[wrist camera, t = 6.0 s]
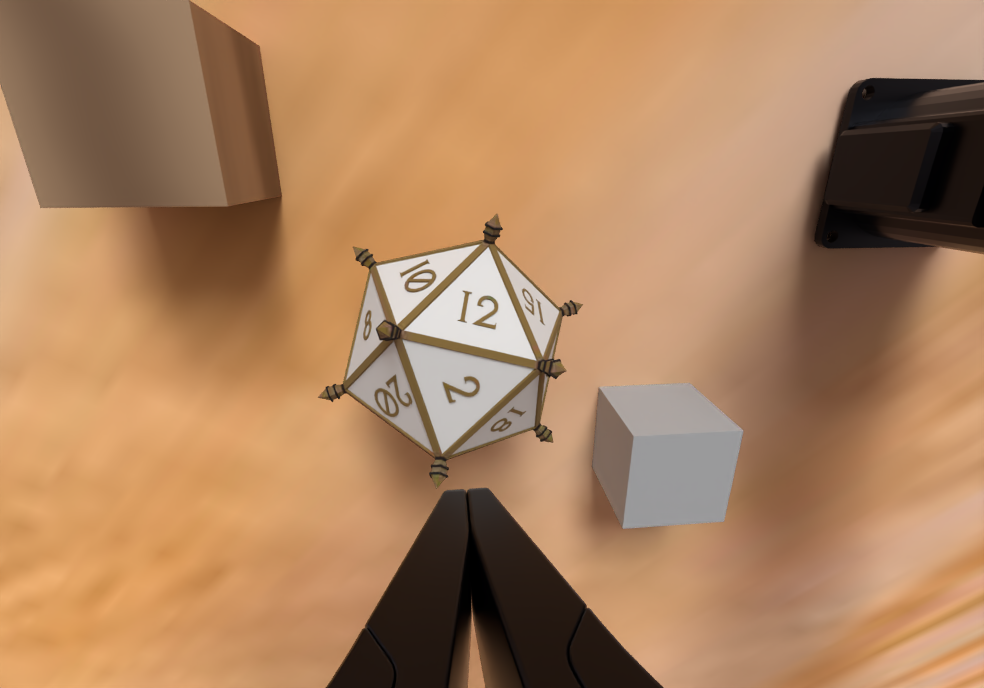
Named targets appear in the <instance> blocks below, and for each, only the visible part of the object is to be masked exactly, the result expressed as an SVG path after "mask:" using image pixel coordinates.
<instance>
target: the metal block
mask: <svg viewBox="0 0 984 688" xmlns="http://www.w3.org/2000/svg"><path fill="white" fill-rule="evenodd" d="M0 84H1V87H2V91H3V94H4V97H5V100H6V103H7V106H8V109H9V112H10V115H11V118H12V121H13V125H14V128H15V131H16V134H17V137H18V140H19V143H20V146H21V149H22V152H23V155H24V158H25V162H26V165H27V168H28V171H29V174H30V177H31V180H32V183H33V186H34V189H35V192H36V195H37V199H38V202H39V205H40V208H94V207H215V206H233V205H238V204H243V203H249V202H254V201H259V200H264V199H270V198H275V197H280V196H282V193H281V187H280V180H279V174H278V167H277V160H276V154H275V147H274V140H273V134H272V127H271V120H270V114H269V107H268V100H267V94H266V87H265V80H264V74H263V67H262V60H261V54H260V47H259V45H257V44H256V43H254V42H252V41H251V40H249V39H248V38H246V37H245V36H243V35H242V34H240V33H239V32H237V31H236V30H234V29H233V28H231V27H229V26H228V25H226V24H225V23H223V22H222V21H220V20H219V19H217V18H216V17H214V16H213V15H211V14H210V13H208V12H206V11H205V10H203V9H202V8H200V7H199V6H197V5H196V4H194V3H193V2H191V1H190V0H0Z"/></svg>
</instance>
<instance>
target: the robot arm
mask: <svg viewBox="0 0 984 688" xmlns="http://www.w3.org/2000/svg"><path fill="white" fill-rule="evenodd" d="M864 88H865V89H866V95H865V98H864V99H863V97H862V92H863V90H864ZM830 232H831V236H830V238H829V239H828V240H827V236H828V234H829V233H830ZM815 242H816V244H817V245H818V246H821V247H825V248H882V247H943V248H949V249H955V250H961V251H967V252H973V253H980V254H984V80H948V79H892V78H870V79H865V80H861V81H858V82H856V83H855V84H854V85H853V86H852V87H851V88H850V91H849V93H848V97H847V101H846V106H845V110H844V114H843V118H842V123H841V127H840V131H839V135H838V140H837V144H836V148H835V152H834V156H833V161H832V165H831V169H830V173H829V178H828V182H827V186H826V190H825V195H824V199H823V203H822V207H821V212H820V216H819V220H818V224H817V228H816V233H815ZM471 600H472V608H471ZM472 612H473V619H474V626H475V632H476V638H477V643H478V649H479V654H480V660H481V666H482V671H483V677H484V682H485V688H664V687H662V686H661V685H660V684H659V683H658V682H657V681H656V680H655V679H654V678H653V677H652V676H651V675H650V674H649V673H648V672H647V671H646V670H645V669H644V668H643V667H642V666H641V665H640V664H639V663H638V662H637V661H636V660H635V659H634V658H633V657H632V656H631V655H630V654H629V653H628V652H627V651H626V650H625V649H624V647H623V646H622V645H621V644H620V643H619V642H618V641H617V640H616V638H615V637H614V636H613V635H612V634H611V633H610V632H609V631H608V629H607V628H606V627H605V626H604V625H603V624H602V623H601V621H600V620H599V619H598V618H597V617H596V615H595V614H594V613H593V612H592V611H591V609H589V608H587V605H586V604H585V603H584V601H583V600H582V599H581V598H580V597H579V595H578V594H577V593H576V592H575V591H574V589H573V588H572V587H571V586H570V585H569V583H568V582H567V581H566V580H565V579H564V578H563V576H562V575H561V574H560V573H559V572H558V570H557V569H556V568H555V567H554V566H553V564H552V563H551V562H550V561H549V560H548V559H547V557H546V556H545V555H544V554H543V553H542V551H541V550H540V549H539V548H538V547H537V545H536V544H535V543H534V542H533V541H532V540H531V538H530V537H529V536H528V535H527V534H526V532H525V531H524V530H523V529H522V528H521V526H520V525H519V524H518V523H517V522H516V521H515V519H514V518H513V517H512V516H511V515H510V513H509V512H508V511H507V510H506V509H505V507H504V506H503V505H502V504H501V503H500V501H499V500H498V499H497V498H496V497H495V496H494V494H493V493H492V492H491V491H490V490H489V489H488V488H476V489H469V490H468V491H467V494H466V491H465V490H463V489H460V490H447V491H445V492H444V493H443V494H442V496H441V497H440V499H439V501H438V503H437V504H436V506H435V508H434V509H433V511H432V513H431V514H430V516H429V518H428V519H427V521H426V523H425V525H424V526H423V528H422V530H421V531H420V533H419V535H418V536H417V538H416V540H415V542H414V543H413V545H412V547H411V548H410V550H409V552H408V553H407V555H406V557H405V558H404V560H403V562H402V564H401V565H400V567H399V569H398V570H397V572H396V574H395V575H394V577H393V579H392V580H391V582H390V584H389V586H388V587H387V589H386V591H385V592H384V594H383V596H382V597H381V599H380V601H379V602H378V604H377V606H376V608H375V609H374V611H373V613H372V614H371V616H370V618H369V619H368V621H367V623H366V625H365V628H364V629H362V631H361V633H360V634H359V636H358V638H357V639H356V641H355V643H354V644H353V646H352V648H351V650H350V651H349V653H348V654H347V656H346V657H345V659H344V661H343V662H342V664H341V665H340V667H339V669H338V670H337V672H336V673H335V675H334V676H333V678H332V680H331V681H330V683H329V684H328V685H327V687H326V688H468V673H469V657H470V640H471V619H472Z"/></svg>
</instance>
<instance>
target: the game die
mask: <svg viewBox="0 0 984 688" xmlns="http://www.w3.org/2000/svg"><path fill="white" fill-rule="evenodd" d="M485 226H486V228H485V230H484V231H483V233H484V237H485V239H484V240H480V241H476V242H471V243H466V244H462V245H457V246H452V247H448V248H443V249H438V250H434V251H429V252H424V253H420V254H415V255H410V256H406V257H401V258H396V259H392V260H387V261H382V262H378V263H377V262H376V261H375V260H374V259H373V257H372V256H373V254H370V253H369V252H368V249H366V250H365V249H361V248H357V247H353V249H354V252H355V255H356V261H359V262H361V265H362V266H366V267H368V268H369V274H368V278H367V283H366V287H365V291H364V296H363V300H362V304H361V308H360V313H359V317H358V321H357V326H356V330H355V334H354V339H353V343H352V347H351V351H350V356H349V360H348V364H347V369H346V373H345V377H344V381H343V384H342V385H336V384H334V385H333V386H331V387H329V386H327V387H326V389H325V390H324V391H323V392H322V393H321V395H320V396H319V397H318V398H322V399H327V400H331V401H332V402H333V400H334V399H336V398H338V399H340V396H342V395H343V394H345V393H347V394H349V395H350V396H351V397H353V398H354V399H355V400H357V401H358V402H359V403H361V404H362V405H363V406H365V407H366V408H367V409H369V410H370V411H371V412H373V413H374V414H376V415H377V416H378V417H380V418H381V419H382V420H384V421H385V422H386V423H388V424H389V425H390V426H392V427H393V428H394V429H396V430H397V431H398V432H400V433H401V434H402V435H404V436H405V437H407V438H408V439H409V440H411V441H412V442H413V443H415V444H416V445H417V446H419V447H420V448H421V449H423V450H424V451H425V452H427V453H428V454H429V455H431V456H432V457H433V458H435V462H434V464H433V465H431V468H432V471H431V472H430V473H429V474H430V477H431V478H432V479H433V482H434V484H435V487H436V489H437V488H438V486H439V485H440V484H441V483H442V481H443V480H444V479H445V478H447V477H448V475H446V474H447V470H449V468H448V467H447V465H446V460H448V459H451V458H453V457H456V456H459V455H462V454H465V453H467V452H470V451H473V450H476V449H479V448H482V447H484V446H487V445H490V444H493V443H496V442H499V441H501V440H504V439H507V438H510V437H513V436H515V435H518V434H521V433H524V432H527V431H530V430H534V431H535V433H536V437H539V438H540V441H541V442H542V441H546V442H552V443H553V438H552V434H551V433H552V431H551V430H549V429H547V427H546V426H542V425H541V424H540V420H541V415H542V410H543V406H544V401H545V396H546V392H547V387H548V382H549V378H550V376H552V377H553V378H555V379H557V377H558V376H559V375H561V374H562V373H564V372H565V371H566V369H565V368H564V367H563V365H562V364H561V360H560V359H558V360H554V354H555V350H556V345H557V340H558V336H559V331H560V326H561V322H562V317H563V316H564V315H567V316H571V315H572V314H573V315H574V314H577V312H578V310H579V309H580V308H581V306H582V305H583V304H579V303H575V302H573V301H572V300H570V302H569V303H564V305H563V306H562V307H558V306H557V305H556V304H555V303H554V302H553V301H552V300H551V299H550V298H549V297H548V296H547V295H546V294H545V293H544V292H543V291H542V290H541V289H539V288H538V287H537V286H536V285H535V284H534V283H533V282H532V281H531V280H530V279H529V278H528V277H527V276H526V275H525V274H524V273H523V272H522V271H521V270H520V269H519V268H518V267H517V266H516V265H515V264H514V263H513V262H512V261H511V260H510V259H509V258H508V257H507V256H506V255H505V254H504V253H503V252H502V251H501V250H500V249H499V248H498V247H497V246H496V245H495V240H496V239H497V237H500V235H499V233H500V230H502V229H503V228H502V227H501V226H500V222H499V218H498V214H496V215H495V216H494V217H493V218H492V219H491V220H490V221H489V222H487V223H485Z"/></svg>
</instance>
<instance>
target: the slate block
mask: <svg viewBox="0 0 984 688" xmlns="http://www.w3.org/2000/svg"><path fill="white" fill-rule="evenodd" d="M742 435H743V430H742V429H741V428H740V427H739V426H738V425H737V424H735V423H734V422H733V421H732V420H731V419H730V418H729V417H728V416H726V415H725V414H724V413H723V412H722V411H721V410H720V409H718V408H717V407H716V406H715V405H714V404H713V403H712V402H711V401H709V400H708V399H707V398H706V397H705V396H704V395H703V394H702V393H700V392H699V391H698V390H697V389H696V388H695V387H694V386H692V385H691V384H690V383H678V384H655V385H632V386H609V387H599V393H598V404H597V416H596V427H595V439H594V450H593V461H592V468H593V470H594V472H595V474H596V476H597V478H598V480H599V482H600V484H601V486H602V488H603V490H604V492H605V494H606V496H607V498H608V500H609V502H610V504H611V506H612V508H613V510H614V512H615V514H616V516H617V518H618V520H619V523H620V525H621V527H622V529H627V528H641V527H655V526H669V525H683V524H697V523H711V522H724V519H725V514H726V510H727V505H728V500H729V496H730V491H731V486H732V482H733V477H734V472H735V468H736V463H737V458H738V454H739V449H740V444H741V440H742Z"/></svg>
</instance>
